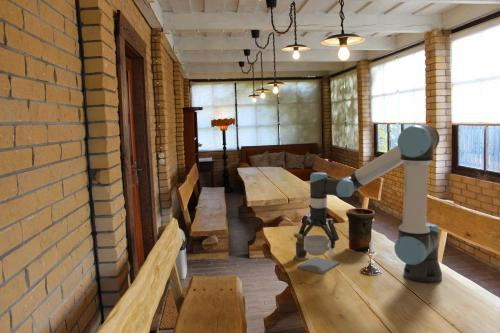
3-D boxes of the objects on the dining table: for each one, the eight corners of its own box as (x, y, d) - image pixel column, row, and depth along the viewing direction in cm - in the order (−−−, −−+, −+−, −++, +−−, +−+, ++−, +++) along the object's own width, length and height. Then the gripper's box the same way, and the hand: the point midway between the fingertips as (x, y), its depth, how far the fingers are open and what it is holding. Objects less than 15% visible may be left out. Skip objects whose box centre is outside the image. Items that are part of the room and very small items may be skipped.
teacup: (301, 256, 194) (301, 239, 193) (307, 249, 203) (307, 232, 203) (332, 259, 188) (332, 241, 187) (336, 252, 198) (337, 235, 197)
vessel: (363, 242, 231) (364, 206, 228) (379, 250, 217) (380, 212, 214) (340, 245, 226) (340, 209, 223) (355, 254, 213) (355, 215, 210)
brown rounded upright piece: (311, 257, 208) (311, 234, 207) (303, 261, 203) (303, 237, 201) (299, 255, 213) (299, 231, 211) (291, 258, 207) (291, 234, 206)
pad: (339, 263, 199) (339, 262, 199) (322, 274, 187) (322, 272, 187) (315, 258, 207) (315, 256, 207) (297, 267, 195) (297, 266, 195)
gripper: (346, 208, 189) (346, 255, 191) (300, 201, 204) (300, 245, 207) (338, 211, 183) (338, 259, 186) (291, 204, 199) (291, 249, 201)
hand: (318, 252), depth 196 cm, fingers closed on teacup, 12 cm apart
